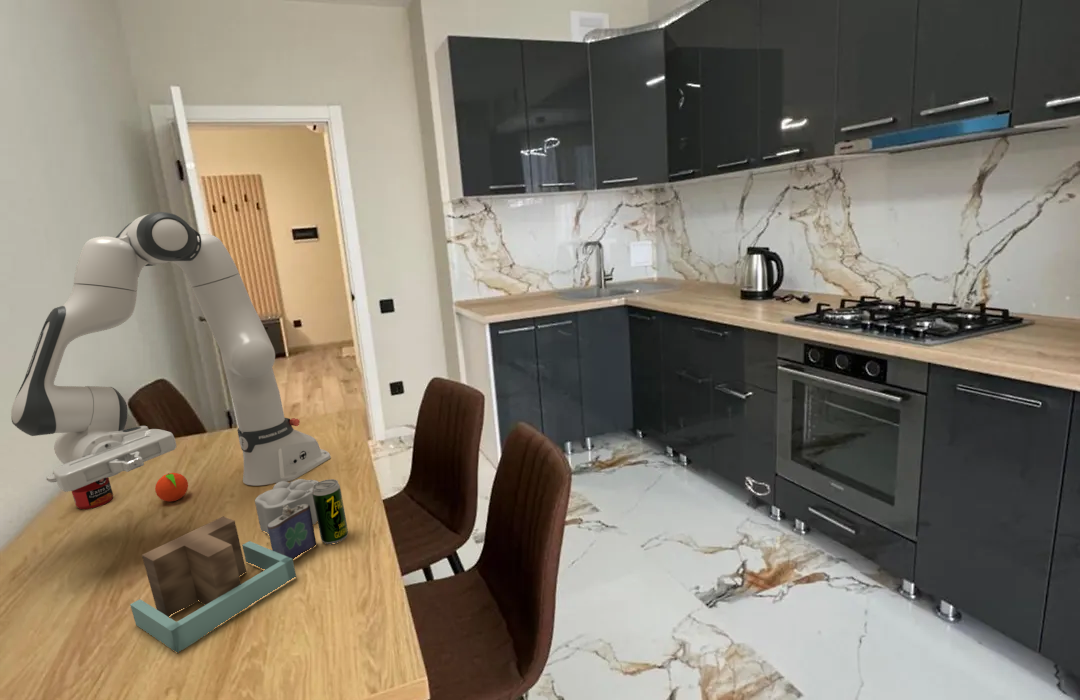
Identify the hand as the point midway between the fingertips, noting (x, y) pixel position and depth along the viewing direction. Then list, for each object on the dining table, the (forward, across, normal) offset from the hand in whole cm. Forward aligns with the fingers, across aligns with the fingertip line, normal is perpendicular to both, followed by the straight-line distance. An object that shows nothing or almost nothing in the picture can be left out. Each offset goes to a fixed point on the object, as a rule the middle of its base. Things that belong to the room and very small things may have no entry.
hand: (135, 464), depth 112 cm
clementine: (-28, +15, +22) cm, 38 cm away
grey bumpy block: (+12, +22, +23) cm, 33 cm away
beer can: (+26, +21, +23) cm, 40 cm away
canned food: (-48, +5, +21) cm, 52 cm away
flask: (+24, +13, +22) cm, 35 cm away
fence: (+24, -2, +22) cm, 32 cm away
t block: (+22, -2, +21) cm, 31 cm away
